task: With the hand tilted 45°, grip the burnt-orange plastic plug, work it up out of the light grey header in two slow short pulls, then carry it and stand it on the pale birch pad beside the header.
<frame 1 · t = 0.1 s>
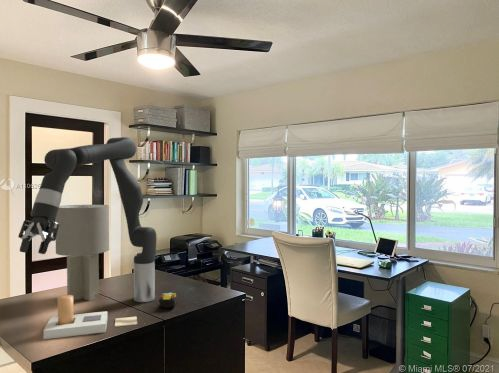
hand: (32, 252, 122), 31 cm above the table, fingers open, 8 cm apart
plug: (65, 329, 140), resting in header
lamp: (83, 297, 178), on the table
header: (77, 328, 141), on the table
pad: (126, 322, 147), on the table
pot of gold: (169, 305, 167), on the table
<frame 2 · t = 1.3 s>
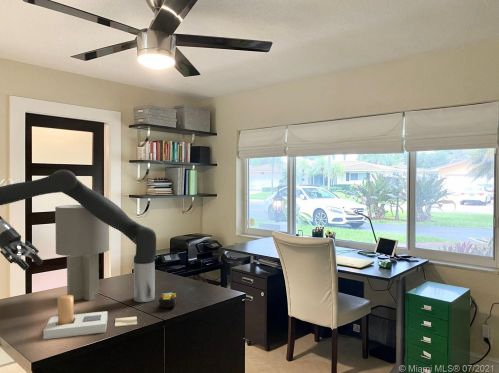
hand: (34, 265, 140), 23 cm above the table, fingers open, 8 cm apart
nothing on the table moved.
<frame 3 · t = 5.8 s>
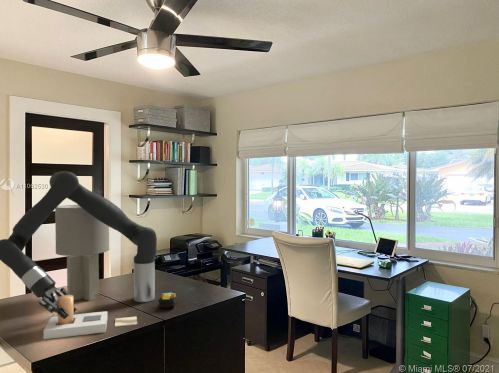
hand: (70, 314, 140), 6 cm above the table, fingers closed on plug, 5 cm apart
plug: (65, 329, 140), resting in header, touching gripper
everything else where it was.
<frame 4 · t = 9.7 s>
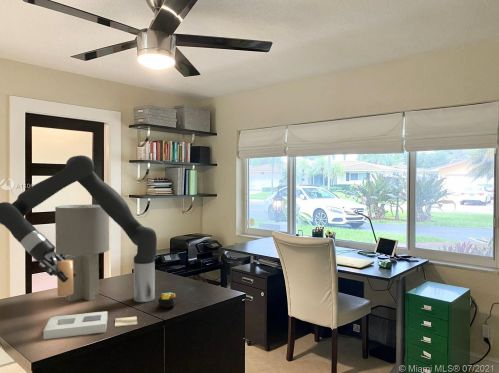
hand: (70, 278, 139), 19 cm above the table, fingers closed on plug, 5 cm apart
plug: (65, 293, 139), point 13 cm above the table, touching gripper
everything else where it was.
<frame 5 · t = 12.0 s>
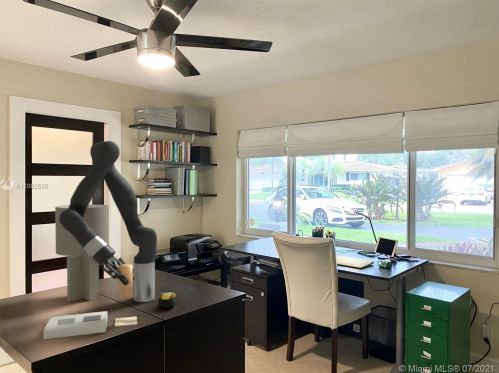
hand: (130, 281, 147), 16 cm above the table, fingers closed on plug, 5 cm apart
plug: (125, 296, 147), point 10 cm above the table, touching gripper
everything else where it was.
when the fingers open (8 cm above the table, at t = 13.8 s): plug drops 1 cm, resting on pad.
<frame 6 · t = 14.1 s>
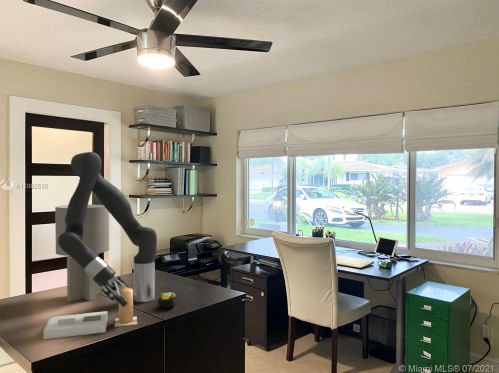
hand: (129, 301, 147), 8 cm above the table, fingers open, 7 cm apart
plug: (125, 320, 147), resting on pad
everything else where it was.
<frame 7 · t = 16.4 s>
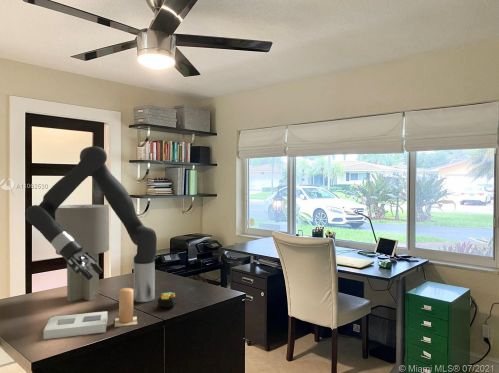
hand: (96, 275, 147), 18 cm above the table, fingers open, 8 cm apart
nothing on the table moved.
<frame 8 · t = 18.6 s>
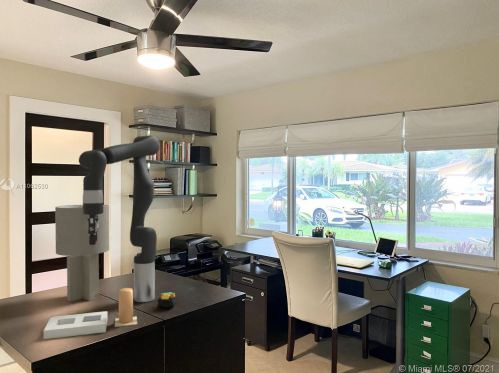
hand: (93, 243, 150), 30 cm above the table, fingers open, 8 cm apart
nothing on the table moved.
at the end: plug inside the target area (0.1 cm from its centre), point 0.5 cm above the table; plug tilted 2°; plug touching pad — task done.
